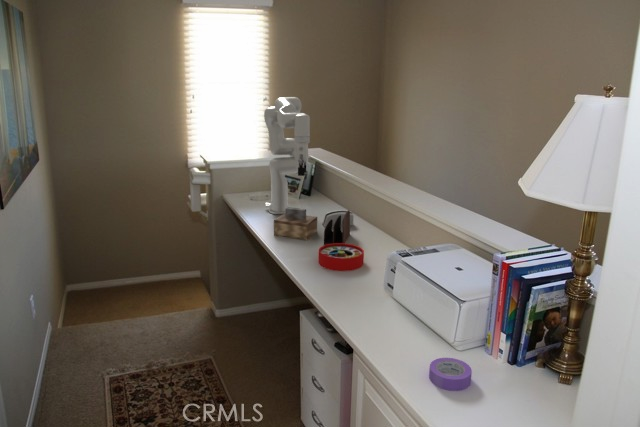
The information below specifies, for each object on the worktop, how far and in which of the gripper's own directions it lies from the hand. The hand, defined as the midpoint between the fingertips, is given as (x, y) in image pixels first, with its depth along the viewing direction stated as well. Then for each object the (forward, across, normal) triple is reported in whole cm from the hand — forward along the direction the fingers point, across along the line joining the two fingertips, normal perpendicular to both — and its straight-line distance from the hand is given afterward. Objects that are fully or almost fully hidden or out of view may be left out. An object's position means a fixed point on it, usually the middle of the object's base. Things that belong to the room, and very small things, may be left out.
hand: (302, 173), depth 281 cm
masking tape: (+36, -131, -54) cm, 146 cm away
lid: (+23, -4, +3) cm, 24 cm away
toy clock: (+32, -41, -21) cm, 57 cm away
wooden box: (+31, -4, +3) cm, 31 cm away
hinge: (+31, +14, -18) cm, 38 cm away
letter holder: (+32, -10, -18) cm, 38 cm away
